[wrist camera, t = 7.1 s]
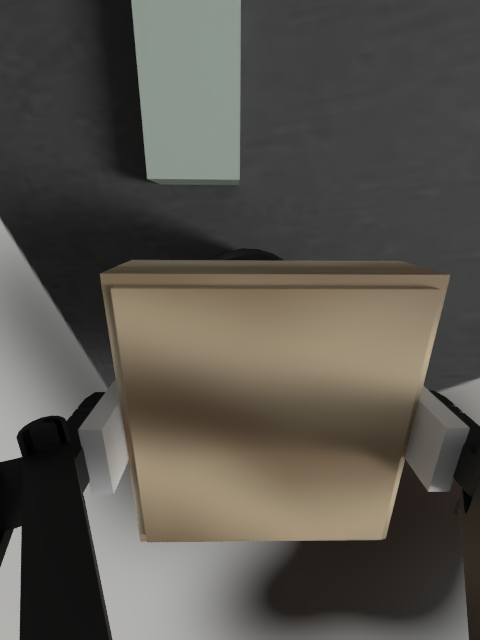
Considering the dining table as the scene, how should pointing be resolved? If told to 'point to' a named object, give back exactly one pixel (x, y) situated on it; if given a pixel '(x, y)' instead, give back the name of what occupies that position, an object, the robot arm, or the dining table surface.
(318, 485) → the lid
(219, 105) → the sage green box base
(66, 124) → the dining table surface
